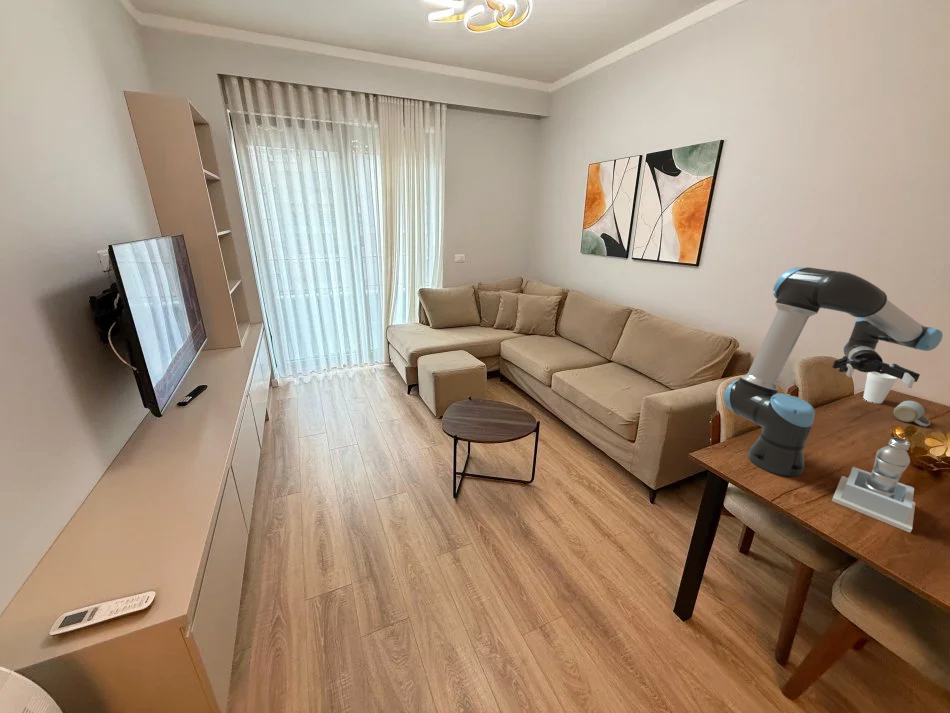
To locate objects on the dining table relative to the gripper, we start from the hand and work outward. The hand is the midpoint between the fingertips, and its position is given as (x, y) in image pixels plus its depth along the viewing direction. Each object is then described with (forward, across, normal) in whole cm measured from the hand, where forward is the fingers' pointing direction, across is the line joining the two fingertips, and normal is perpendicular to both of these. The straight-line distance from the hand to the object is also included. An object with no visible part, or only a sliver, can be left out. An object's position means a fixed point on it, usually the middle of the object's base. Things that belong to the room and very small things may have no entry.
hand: (880, 378), depth 119 cm
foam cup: (-75, -20, -32) cm, 84 cm away
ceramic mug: (-58, -28, -32) cm, 72 cm away
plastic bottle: (+21, -3, -31) cm, 37 cm away
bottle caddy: (+21, -3, -32) cm, 38 cm away
